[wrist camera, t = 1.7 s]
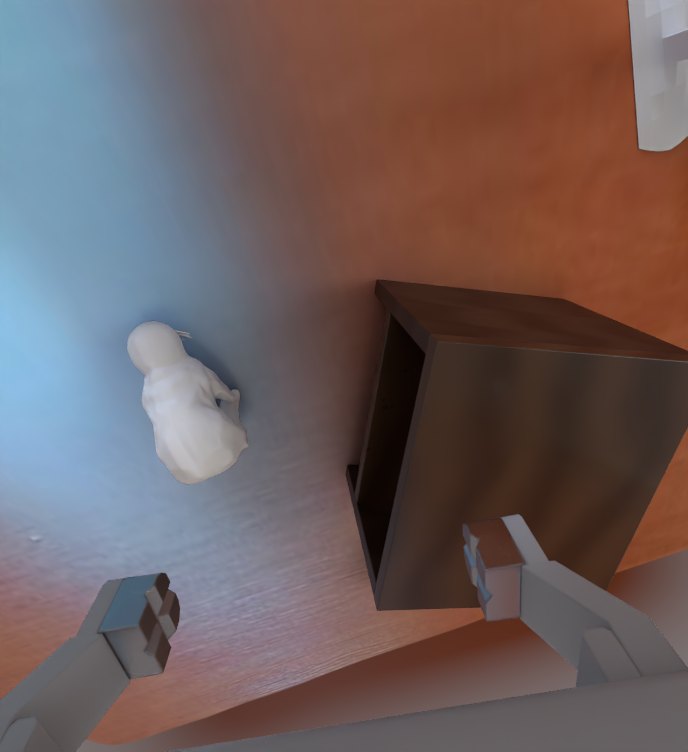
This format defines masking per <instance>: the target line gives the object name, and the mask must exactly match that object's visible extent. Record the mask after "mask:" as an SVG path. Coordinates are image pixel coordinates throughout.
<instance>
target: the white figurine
mask: <svg viewBox="0 0 688 752" xmlns="http://www.w3.org/2000/svg"><path fill="white" fill-rule="evenodd" d="M185 334H186V335H185ZM178 335H180V336H185V337H189V336H188V335H190V333H187V332H182V331H174V330H173V329H172V328H171V327H170V326H168V325H167V324H164V323H161V322H158V321H149V322H144V323H142V324H140V325H138V326H137V327H136V328H135V329H134V330H133V331H132V332H131V334H130V335H129V338H128V341H127V350H128V353H129V356H130V358H131V360H132V361H131V362H133V363H134V365H135V366H136V367H137V368H138V369H139V370H140V371H141V372H142V373H143V374H144V376H145V380H144V389H143V394H142V404H143V408H144V410H145V411H146V412H147V413H148V416H149V419H150V420H151V421H152V423H153V426H154V434H155V445H156V453H157V456H158V457H159V459H160V460H161V461H162V462H163V463H164V464H165V465H166V466H167V467H168V469H169V471H170V472H171V474H172V475H173V476H174V477H175V478H176V479H177V480H178V481H180V482H182V483H184V484H196V483H200V482H202V481H204V480H207V479H209V478H211V477H213V476H216V475H218V474H220V473H222V472H224V471H226V470H227V469H228V468H230V467H231V466H232V465H234V464H235V462H236V461H237V459H238V457H239V456H240V455H241V452H242V451H243V450H244V449H246V448H247V447H248V446H249V444H248V439H247V430H246V428H245V427H244V426H243V425H242V424H241V423H240V416H239V402H240V393H239V391H238V390H237V389H233V390H230V389H229V388H228V387H227V386H226V385H225V384H224V383H223V382H222V381H221V380H220V379H219V378H218V376H217V375H216V374H215V373H214V372H213V371H212V370H210V369H208V368H207V367H206V366H204V365H203V364H202V363H201V362H200V361H199V360H197V359H195V358H192V357H190V356H188V354H187V353H186V351H185V350H184V347H183V343H182V341H181V339H182V338H181V337H180V336H178ZM180 338H181V339H180ZM189 338H191V337H189ZM184 339H185V338H184ZM182 340H183V339H182ZM216 398H218V399H222V400H221V403H220V407H218V406H217V404H216V401H215V399H216Z"/></svg>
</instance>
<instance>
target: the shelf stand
mask: <svg viewBox="0 0 688 752" xmlns="http://www.w3.org/2000/svg"><path fill="white" fill-rule="evenodd" d="M375 295H376V296H377V297H378V298H379V299H380V301H381V302H382V303H383V304H384V305H385V307H386V308H387V309H386V313H385V319H384V325H383V331H382V337H381V343H380V349H379V354H378V360H377V366H376V372H375V378H374V384H373V390H372V395H371V401H370V407H369V413H368V419H367V425H366V430H365V436H364V442H363V448H362V454H361V460H360V466H359V465H347V470H346V478H347V482H348V487H349V491H350V495H351V500H352V504H353V508H354V513H355V517H356V521H357V526H358V530H359V534H360V539H361V543H362V547H363V552H364V556H365V560H366V565H367V569H368V573H369V578H370V582H371V586H372V591H373V595H374V600H375V604H376V608H377V611H382V610H414V609H446V608H477V607H481V606H480V603H479V601H478V595H477V587H476V586H475V585H473V584H472V582H471V580H470V577H469V574H468V571H467V567H466V562H465V557H464V546H465V544H466V541H465V539H464V536H463V524H464V523H469V522H475V521H481V520H487V519H493V518H500V517H504V516H510V515H516V514H519V515H520V516H522V518H523V519H524V521H525V523H526V524H527V526H528V528H529V529H530V531H531V533H532V534H533V536H534V537H535V539H536V541H537V542H538V544H539V546H540V547H541V549H542V551H543V552H544V554H545V555H546V557H547V559H548V560H549V561H556V562H558V563H560V564H561V565H563V566H565V567H566V568H568V569H570V570H571V571H573V572H575V573H576V574H578V575H580V576H581V577H583V578H585V579H586V580H588V581H590V582H591V583H593V584H595V585H596V586H598V587H600V588H601V589H603V590H605V591H606V590H607V588H608V586H609V584H610V582H611V580H612V578H613V576H614V574H615V572H616V570H617V568H618V566H619V564H620V562H621V560H622V558H623V556H624V554H625V552H626V550H627V548H628V546H629V544H630V542H631V540H632V538H633V536H634V534H635V532H636V530H637V528H638V526H639V524H640V522H641V520H642V518H643V516H644V514H645V512H646V510H647V508H648V506H649V504H650V502H651V500H652V498H653V496H654V494H655V492H656V490H657V488H658V486H659V484H660V482H661V480H662V478H663V476H664V474H665V472H666V470H667V468H668V466H669V464H670V462H671V460H672V458H673V456H674V454H675V452H676V450H677V448H678V446H679V444H680V442H681V440H682V438H683V436H684V433H685V431H686V429H687V427H688V351H687V350H684V349H682V348H679V347H677V346H675V345H672V344H670V343H668V342H665V341H663V340H660V339H658V338H656V337H653V336H651V335H648V334H646V333H644V332H641V331H639V330H637V329H634V328H632V327H629V326H627V325H625V324H622V323H620V322H617V321H615V320H613V319H610V318H608V317H606V316H603V315H601V314H598V313H596V312H594V311H591V310H589V309H586V308H584V307H582V306H579V305H577V304H575V303H572V302H570V301H567V300H565V299H558V298H549V297H539V296H530V295H520V294H511V293H501V292H492V291H482V290H473V289H463V288H454V287H444V286H435V285H425V284H416V283H406V282H397V281H387V280H377V281H376V287H375Z"/></svg>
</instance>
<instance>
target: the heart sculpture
mask: <svg viewBox="0 0 688 752" xmlns="http://www.w3.org/2000/svg"><path fill="white" fill-rule="evenodd" d="M628 3H629V17H630V31H631V45H632V59H633V73H634V87H635V101H636V115H637V129H638V143H639V149H643V150H648V151H666V150H671V149H672V148H673V147H675V146H676V145H678V144H679V143H681V142H682V141H683V140H684V139H685V138H686V137H687V136H688V0H628Z"/></svg>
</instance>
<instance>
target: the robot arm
mask: <svg viewBox="0 0 688 752" xmlns="http://www.w3.org/2000/svg"><path fill="white" fill-rule="evenodd" d="M463 536H464V539H465V541H466V544H465V546H464V557H465V562H466V567H467V571H468V574H469V577H470V580H471V582H472V584H473V585H475V586H476V587H477V595H478V601H479V603H480V606H481V608H482V611H483V613H484V616H485V618H486V621H487V622H489V621H497V620H504V619H512V618H521V620H522V621H523V622H524V623H525V624H526V625H528V626H529V627H530V628H531V629H532V630H533V631H534V632H535V633H537V634H538V635H539V636H540V637H541V638H542V639H543V640H544V641H546V642H547V643H548V644H549V645H550V646H551V647H553V649H555V650H556V651H557V652H558V653H559V654H560V655H561V656H562V657H564V658H565V659H566V660H567V661H568V662H569V663H570V664H571V665H573V666H574V667H575V668H576V669H577V670H578V673H577V682H576V687H575V688H569V689H562V690H556V691H549V692H544V693H537V694H530V695H524V696H517V697H511V698H505V699H499V700H492V701H486V702H479V703H473V704H467V705H460V706H454V707H447V708H441V709H435V710H428V711H422V712H416V713H410V714H403V715H397V716H391V717H384V718H378V719H372V720H366V721H359V722H353V723H346V724H340V725H334V726H328V727H321V728H315V729H308V730H302V731H295V732H289V733H283V734H276V735H270V736H263V737H257V738H251V739H244V740H238V741H231V742H225V743H219V744H212V745H206V746H199V747H193V748H187V749H181V750H174V751H168V752H688V667H687V666H686V665H685V663H684V662H683V661H682V659H681V658H680V657H679V655H678V654H677V653H676V651H675V650H674V649H673V647H672V646H671V645H670V644H669V642H668V641H667V640H666V638H665V637H664V636H663V634H662V633H661V632H660V630H659V629H658V628H657V626H656V625H655V624H654V622H653V621H652V620H651V618H650V617H648V616H646V615H645V614H643V613H641V612H640V611H638V610H636V609H635V608H633V607H631V606H630V605H628V604H626V603H625V602H623V601H621V600H620V599H618V598H616V597H615V596H613V595H611V594H610V593H608V592H606V591H605V590H603V589H601V588H600V587H598V586H596V585H595V584H593V583H591V582H590V581H588V580H586V579H585V578H583V577H581V576H580V575H578V574H576V573H575V572H573V571H571V570H570V569H568V568H566V567H565V566H563V565H561V564H560V563H558V562H556V561H549V560H548V559H547V557H546V555H545V554H544V552H543V551H542V549H541V547H540V546H539V544H538V542H537V541H536V539H535V537H534V536H533V534H532V533H531V531H530V529H529V528H528V526H527V524H526V523H525V521H524V519H523V518H522V516H520V515H519V514H516V515H510V516H504V517H500V518H493V519H487V520H481V521H475V522H469V523H464V524H463ZM169 584H170V580H169V578H168V577H167V575H166V573H157V574H149V575H142V576H134V577H127V578H122V579H115V580H108V581H107V582H106V583H105V584H104V585H103V586H102V588H101V590H100V592H99V594H98V596H97V597H96V599H95V601H94V603H93V605H92V607H91V609H90V611H89V613H88V615H87V616H86V618H85V620H84V622H83V624H82V626H81V628H80V630H79V632H78V634H77V636H76V637H74V638H70V639H69V640H67V641H66V642H65V643H64V644H63V645H62V646H61V647H60V648H58V649H57V650H56V651H55V652H54V653H53V654H52V655H51V656H49V657H48V658H47V659H46V660H45V661H44V662H43V663H42V664H41V665H39V666H38V667H37V668H36V669H35V670H34V671H33V672H32V673H30V674H29V675H28V676H27V677H26V678H25V679H24V680H23V681H21V682H20V683H19V684H18V685H17V686H16V687H15V688H14V689H12V690H11V691H10V692H9V693H8V694H7V695H6V696H5V697H3V698H2V699H1V700H0V752H76V750H77V749H78V748H79V747H80V746H81V744H82V743H83V742H84V740H85V739H86V738H87V737H88V735H89V734H90V733H91V731H92V730H93V729H94V728H95V726H96V725H97V724H98V722H99V721H100V720H101V719H102V717H103V716H104V715H105V713H106V712H107V711H108V710H109V708H110V707H111V706H112V704H113V703H114V702H115V701H116V699H117V698H118V697H119V695H120V694H121V693H122V692H123V690H124V689H125V688H126V686H127V685H128V684H129V683H130V679H136V678H141V677H146V676H151V675H157V674H162V673H163V672H164V668H165V665H166V662H167V659H168V656H169V652H170V649H171V646H170V644H169V642H168V639H169V638H170V637H171V636H172V635H173V634H174V633H175V632H176V630H177V626H178V623H179V615H180V606H179V601H178V598H177V596H176V593H174V592H172V591H171V590H169V589H168V587H169Z"/></svg>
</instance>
